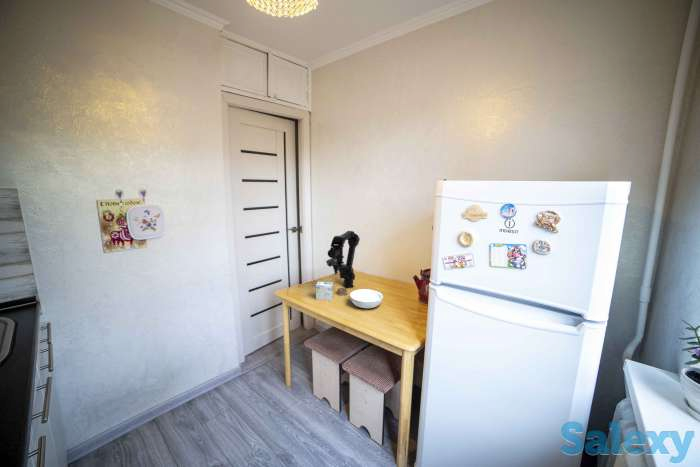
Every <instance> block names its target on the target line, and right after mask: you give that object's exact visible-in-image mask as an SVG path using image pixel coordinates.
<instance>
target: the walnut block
mask: <svg viewBox="0 0 700 467" xmlns="http://www.w3.org/2000/svg"><path fill="white" fill-rule="evenodd" d="M337 295H339V297H344V296H348V288H346V287H339V288H337Z"/></svg>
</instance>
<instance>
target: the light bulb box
mask: <svg viewBox="0 0 700 467" xmlns="http://www.w3.org/2000/svg"><path fill="white" fill-rule="evenodd" d="M333 285H334V282H333V281H317V283H316V284H315V300H318V301H319V300H320V301H332V300H333V297H334V286H333Z"/></svg>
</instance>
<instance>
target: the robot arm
mask: <svg viewBox="0 0 700 467" xmlns="http://www.w3.org/2000/svg"><path fill="white" fill-rule="evenodd" d="M360 239H361V238H360V237H359V235H358V234H356V233H355V231H353V230H347V231H346V232H344V233H342V234H340V235H334V236H333V238H332V241H331V244H330V248H329V249H328V251H327V256H328V257H329V259H327V260H326V262H325V263H326V265H327V267H331V268H332V267H333V271H334V275H338V272H339V279H343V284H342V285H343V288H346V289H351V288H355V286H354V280H355V279H356V275H355V273H354V268H353V264H354V259H355V252H356V248H357V247H358V245H359V242H360V241H361V240H360ZM346 241H347V244H348V251H347V257H346V262H344V258H345V257H344V248H345V245H344V244H346Z"/></svg>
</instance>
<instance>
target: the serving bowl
mask: <svg viewBox="0 0 700 467" xmlns="http://www.w3.org/2000/svg"><path fill="white" fill-rule="evenodd" d="M349 297H350V298H349V299H350V301H351V302H352V303H353V304H354V305H355V306H356V307H358V308H362V309H372V308H376V307H378V306H379V305H380V304H382V301H383V297H384V296H383V294H382V293H381V292H380V291H377V290H374V289H368V288H362V289H361V288H360V289H356V290H353V291H351V292H350V293H349Z"/></svg>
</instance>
